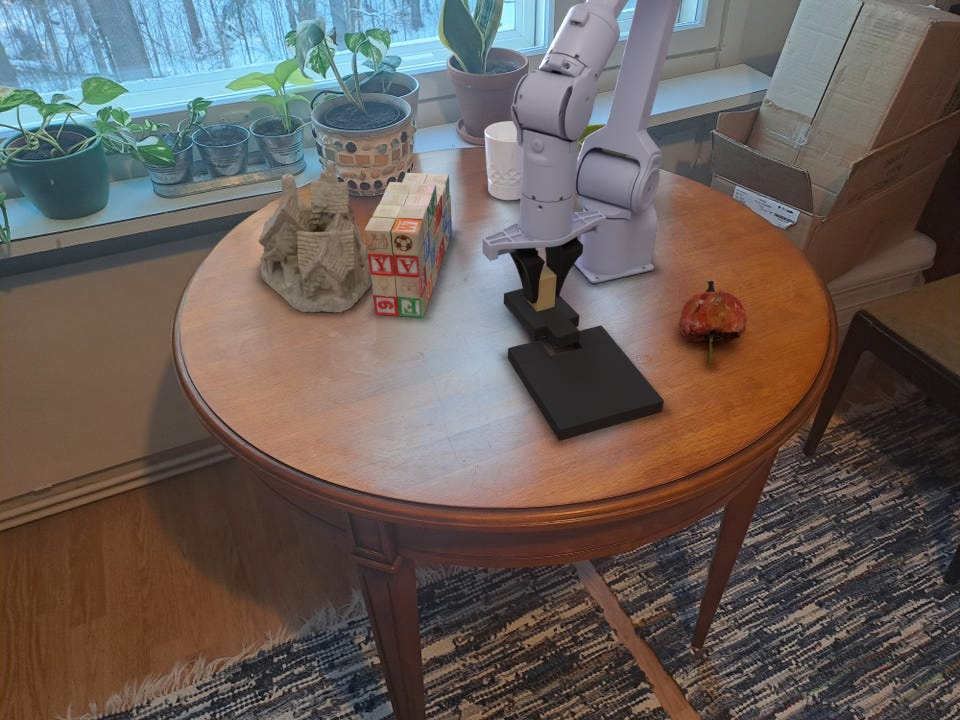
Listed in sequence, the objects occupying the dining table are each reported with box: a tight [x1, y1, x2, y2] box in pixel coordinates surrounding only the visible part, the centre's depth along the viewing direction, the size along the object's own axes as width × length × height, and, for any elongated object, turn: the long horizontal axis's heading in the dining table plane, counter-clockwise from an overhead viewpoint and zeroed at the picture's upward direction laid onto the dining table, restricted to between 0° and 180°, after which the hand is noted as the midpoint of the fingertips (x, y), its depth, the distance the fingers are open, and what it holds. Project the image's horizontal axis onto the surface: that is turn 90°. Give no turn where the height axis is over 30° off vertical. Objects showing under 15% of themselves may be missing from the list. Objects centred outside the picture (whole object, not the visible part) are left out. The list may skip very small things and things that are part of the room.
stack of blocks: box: [364, 172, 453, 319], centre depth 92 cm, size 21×6×12 cm, turn 172°
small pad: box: [503, 265, 580, 349], centre depth 83 cm, size 10×6×6 cm, turn 25°
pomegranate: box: [678, 280, 748, 366], centre depth 81 cm, size 7×7×10 cm
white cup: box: [484, 120, 522, 201], centre depth 111 cm, size 8×8×10 cm
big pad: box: [507, 324, 665, 441], centre depth 78 cm, size 14×12×2 cm
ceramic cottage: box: [257, 160, 372, 314], centre depth 90 cm, size 16×16×15 cm
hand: (541, 295), depth 84 cm, fingers closed on small pad, 2 cm apart
